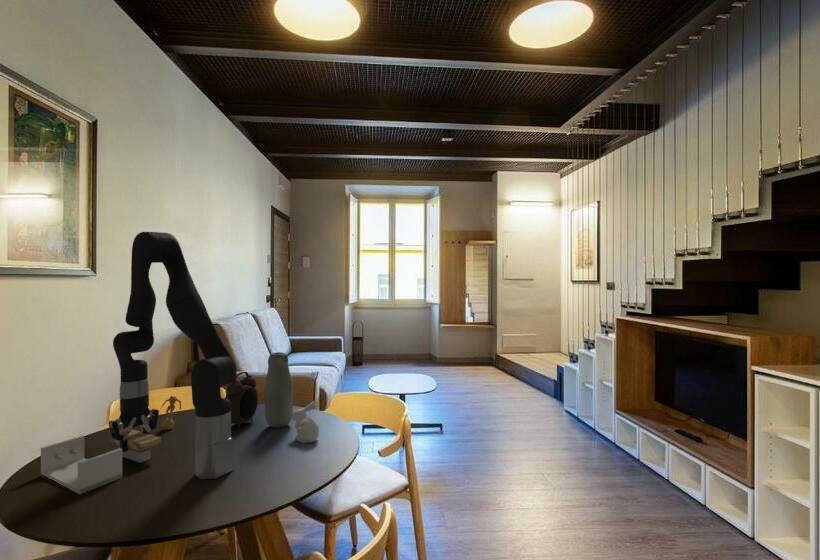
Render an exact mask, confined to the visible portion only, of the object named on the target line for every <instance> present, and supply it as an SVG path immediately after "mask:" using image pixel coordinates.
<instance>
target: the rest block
mask: <svg viewBox="0 0 820 560" xmlns="http://www.w3.org/2000/svg"><path fill="white" fill-rule="evenodd" d="M119 448H120V445H118V448H117V449H119ZM122 458H125V459H128V460H131V461H134V462H137V463H140V464H141V463H144V462H147V461H149V460H151V450H148V451H145V452H140V451H136V450H133V449H130V448H128V451H127V452H122Z"/></svg>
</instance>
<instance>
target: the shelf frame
mask: <svg viewBox="0 0 820 560" xmlns="http://www.w3.org/2000/svg"><path fill="white" fill-rule="evenodd" d="M41 474H42V475H44V476H46V477H48V478H49V479H52V480H54V481H56V482H57V483H59V484H61V485H60V486H62V485H63V486H62V487H64V486H65V487H64V488H66V487H67V488H66V489H68V488H69V489H68V490H70V491H73V492H74V493H76V494H78V495H82V494H85V493H87V491H88V492H90V491H92V490H95V489H98V488H100V487H102V486H105V485H107V484H110V483H112V482H114V481H115V482H116V481H118V480H120V479H122V478H123V457H122V449H121V448H119V449H118V448H116V449H114V450H111V451H108V452H105V453H103V454H99V455H96V456H93V457H90V458H85V435H83V434H82V435H79V436H77V437H76V436H75V437H72V438H69V439H65V440H62V441H59V442H55V443H52V444H48V445H45V446H42V447H40V475H41ZM49 479H48V480H49ZM57 483H56V484H57ZM59 484H58V485H59Z"/></svg>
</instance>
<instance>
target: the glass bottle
mask: <svg viewBox="0 0 820 560" xmlns="http://www.w3.org/2000/svg"><path fill="white" fill-rule="evenodd" d="M267 364H268V366H267V373H266V377H265V381H264V390H263V393H264V394H263V395H264V416H265V422H266V424H268V426H269V427H271V428H276V429H277V428H284V427H286V426H288V424H290V422H291V420H293V419H292V415H293V413H294V412H293V410H294V408H293V407H294V403H293V402H294V400H293V399H294V397H293V396H294V382H293V377H292V375H291V373H290V366H289V356H288V355H287V354H286V353H284V352H273V353H271V354H270V355H269V356H268V359H267Z"/></svg>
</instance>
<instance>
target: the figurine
mask: <svg viewBox="0 0 820 560" xmlns="http://www.w3.org/2000/svg"><path fill="white" fill-rule="evenodd" d="M167 402H169V405H168V406H167V408H166V410H165V413H166V414H167V415H166V418H165V419H164V420H163V421H162V423H161V428H162V429H163V430H165V431H169V430H171V429H172V428H174V426H175V421H174V420H173V419H172V418H173V415H174V410H175V408H176V406H175V404H176V402H178V404H179V407H178V409H179V410H180V411H181V410H182V401H181V400H180V399H178V397H177V396H174V395H170V397H169V398H168V399H166V400H165V401H164V402H163V403H162V405H161V406H160V409H162V407H164V405H165V404H166V403H167ZM169 411H170V412H169Z"/></svg>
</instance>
